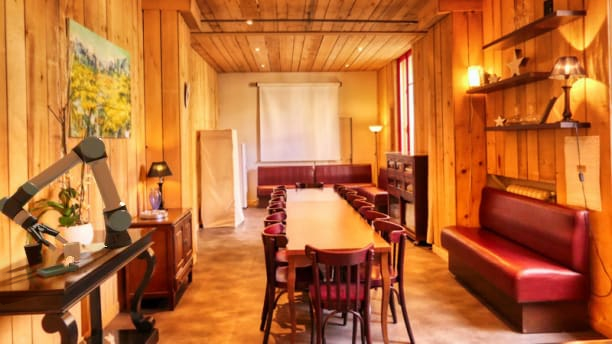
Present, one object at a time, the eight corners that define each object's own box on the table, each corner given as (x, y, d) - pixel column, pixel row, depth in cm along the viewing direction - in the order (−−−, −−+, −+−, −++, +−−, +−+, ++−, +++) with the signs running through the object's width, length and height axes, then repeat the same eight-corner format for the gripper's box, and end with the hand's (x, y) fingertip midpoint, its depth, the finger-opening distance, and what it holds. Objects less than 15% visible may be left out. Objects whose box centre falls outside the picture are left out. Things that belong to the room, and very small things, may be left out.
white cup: (77, 264, 232) (74, 244, 232) (61, 265, 233) (59, 246, 232) (85, 259, 240) (82, 241, 239) (70, 261, 240) (67, 242, 240)
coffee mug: (36, 265, 240) (33, 246, 239) (22, 265, 241) (19, 247, 241) (52, 259, 251) (50, 240, 250) (39, 259, 253) (36, 241, 252)
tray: (68, 265, 230) (68, 262, 230) (79, 269, 220) (78, 265, 220) (37, 273, 220) (37, 269, 220) (46, 277, 210) (46, 273, 210)
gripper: (34, 222, 245) (67, 246, 247) (8, 231, 220) (45, 258, 222) (43, 211, 245) (76, 235, 247) (18, 218, 220) (55, 246, 222)
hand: (61, 246), depth 235 cm, fingers open, 13 cm apart
